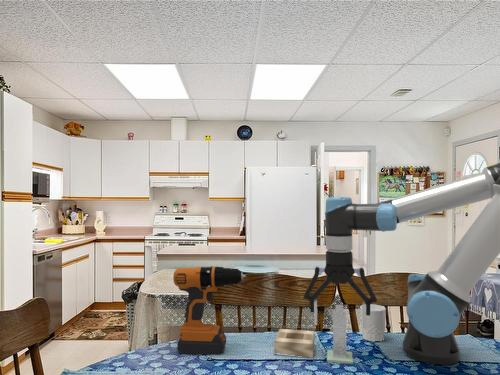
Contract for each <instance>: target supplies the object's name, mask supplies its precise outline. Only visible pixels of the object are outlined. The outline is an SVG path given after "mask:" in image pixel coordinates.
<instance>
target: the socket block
mask: <svg viewBox="0 0 500 375" xmlns="http://www.w3.org/2000/svg"><path fill="white" fill-rule="evenodd" d="M315 336H316V335H315V331H314V330H303V329H288V328H279V329H278V332H277V333H276V336H275V338H274V341H273V342H274V344H273V345H274V346H273V347H274V348H273V350H274V352H273V353H280V354H287V355H295V356H302V357H301V358H303V357H309V358H308V359H313V358H314V352H313V351H315V345H314V343H315V340H316V339H315ZM315 344H316V343H315Z"/></svg>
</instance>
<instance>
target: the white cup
mask: <svg viewBox="0 0 500 375" xmlns="http://www.w3.org/2000/svg"><path fill="white" fill-rule="evenodd" d="M359 307H360V321H361V324H360V325H361V332H362V339H364V340H366V341H367V342H373V343H374V342H375V341H380V342H382V341H381V340H383V339H384V340H385V331H386V309H387V308H386V307H385V306H383V305H380V304H379V305H378V304H374V303H371V304H370V316H368V315H366V328H364V327H363V304H362V305H360V306H359ZM384 340H383V341H384ZM375 343H376V342H375Z"/></svg>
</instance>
